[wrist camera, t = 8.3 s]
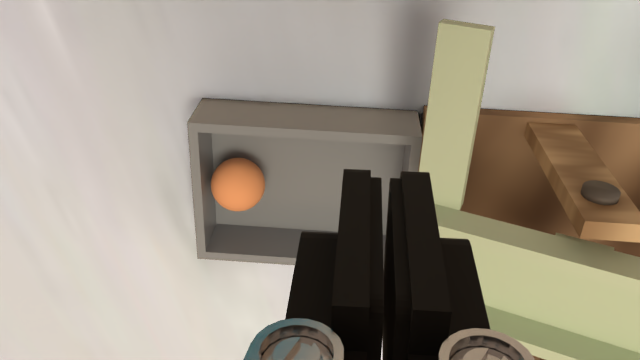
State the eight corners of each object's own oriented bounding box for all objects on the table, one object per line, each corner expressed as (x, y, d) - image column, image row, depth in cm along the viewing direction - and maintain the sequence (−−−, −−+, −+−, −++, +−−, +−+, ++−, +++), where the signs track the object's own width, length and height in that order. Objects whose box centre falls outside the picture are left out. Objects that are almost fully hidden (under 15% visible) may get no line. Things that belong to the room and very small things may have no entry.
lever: (1011, 93, 23) (1076, 135, 20) (822, 391, 31) (844, 458, 28) (450, 12, 31) (426, 32, 27) (414, 268, 39) (392, 308, 35)
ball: (198, 166, 39) (249, 178, 38) (226, 144, 42) (274, 154, 41) (202, 214, 41) (250, 226, 40) (228, 189, 44) (273, 200, 43)
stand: (730, 121, 39) (873, 232, 28) (673, 262, 44) (774, 400, 33) (424, 104, 40) (447, 205, 29) (405, 244, 45) (419, 374, 34)
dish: (202, 98, 40) (187, 122, 37) (417, 110, 40) (422, 136, 36) (210, 226, 45) (197, 258, 42) (401, 239, 45) (404, 272, 41)
